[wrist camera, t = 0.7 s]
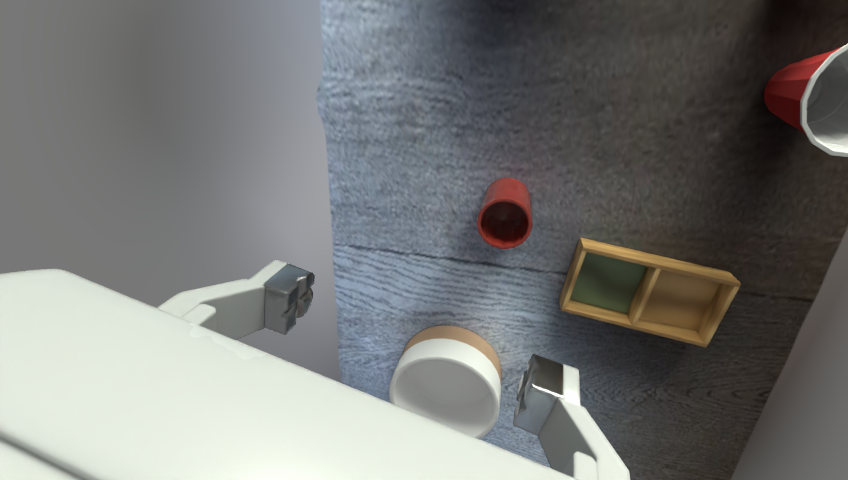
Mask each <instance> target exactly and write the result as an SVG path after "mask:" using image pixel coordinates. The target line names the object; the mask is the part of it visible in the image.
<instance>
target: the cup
mask: <svg viewBox="0 0 848 480" xmlns="http://www.w3.org/2000/svg"><path fill="white" fill-rule="evenodd" d="M477 226H478V232H479V234H480V235H481V237H482V238H483V240H484V241H485V242H486V243H488V244H489V245H491V246H492V247H496V248H500V249H509V248H515V247H516V246H518V245H520V244H522V243H523V242H524V241H525V240H526V239H527V238H528V236H529V235H530V232H531V229H532V212H531V200H530V194H529V191H528V189H527V188H526V186H525V185H524V184H523V183H521V182H520V181H518V180H516V179H512V178H502V179H499V180H497V181H495V182H493V183H492V184H491V185H490V186H489V187H488V188H487V190H486V192H485V195H484V198H483V202H482V205H481V208H480V212H479V216H478V220H477Z"/></svg>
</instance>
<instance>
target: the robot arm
mask: <svg viewBox="0 0 848 480" xmlns="http://www.w3.org/2000/svg"><path fill="white" fill-rule="evenodd" d="M314 278H315V276H314V274H313V273H311V272H309V271H306V270H303V269H301V268H298V267H296V266H293V265H291V264H288V263H285V262H283V261H280V260H274V261H272V262H271V263H270V264H269V265H267V266H266V267H265V268H263V269H262V270H261V271H260V272H258V273H257V274H256V275H254V276H253V277H252V278H251V279H249V280H246V279H242V280H237V281H232V282H228V283H223V284H218V285H213V286H209V287H204V288H199V289H194V290H189V291H185V292H180V293H178V294H177V295H175V296H174V297H172V298H171V299H169V300H168V301H166V302H165V303H163V304H162V305H160V306H159V307H157V308H155V307H153V306H150V305H148V304H145V303H143V302H140V301H137V300H135V299H133V298H130V297H128V296H126V295H123V294H120V293H118V292H116V291H113V290H111V289H108V288H106V287H103V286H101V285H98V284H96V283H94V282H91V281H89V280H86V279H84V278H82V277H79V276H77V275H75V274H72V273H70V272H67V271H64V270H60V269H43V270H30V271H22V272H13V273H5V274H0V480H630V475H629V470H628V469H627V467H626V466H625V464H624V463H623V462H622V460H621V459H620V457H619V456H618V454H617V453H616V452H615V450H614V449H613V447H612V446H611V444H610V443H609V442H608V440H607V439H606V437H605V436H604V434H603V433H602V432H601V430H600V429H599V427H598V426H597V424H596V423H595V421H594V420H593V419H592V417H591V416H590V414H589V413H588V411H587V410H586V409H585V407H582V406H580V385H579V371H578V369H576V368H573V367H570V366H567V365H564V364H560V363H557V362H555V361H552V360H549V359H546V358H543V357H541V356H538V355H535V354H533V355H532V356H531V358H530V360H529V362H528V370H527V371H525V372H524V373H523V376H522V378H521V381H520V384H519V387H518V392H517V398H516V399H517V401H518V403H517V406H516V408H515V413H514V421H513V425H514V426H516V427H519V428H521V429H523V430H526V431H528V432H530V433H533V434H535V435H537V436H538V439H539V441H540V443H541V445H542V448H543V450H544V452H545V455H546V457H547V459H548V462H549V464H550V466H551V468H552V469H551V468H549V467H546V466H544V465H541V464H539V463H536V462H534V461H532V460H529V459H527V458H524V457H522V456H519V455H517V454H514V453H512V452H509V451H507V450H504V449H502V448H499V447H497V446H494V445H492V444H490V443H487V442H485V441H482V440H480V439H477V438H475V437H472V436H470V435H467V434H465V433H463V432H460V431H458V430H455V429H453V428H450V427H448V426H445V425H443V424H440V423H438V422H435V421H433V420H431V419H428V418H426V417H423V416H421V415H418V414H416V413H413V412H411V411H408V410H406V409H404V408H401V407H399V406H396V405H394V404H391V403H389V402H386V401H384V400H381V399H379V398H376V397H374V396H371V395H369V394H366V393H364V392H362V391H359V390H357V389H354V388H352V387H349V386H347V385H344V384H342V383H339V382H337V381H334V380H332V379H330V378H327V377H325V376H322V375H320V374H317V373H315V372H312V371H309V370H307V369H305V368H302V367H300V366H297V365H295V364H293V363H290V362H288V361H285V360H283V359H280V358H278V357H275V356H273V355H270V354H268V353H266V352H263V351H261V350H258V349H256V348H253V347H251V346H248V345H246V344H244V343H241V342H239V341H236V340H237V339H239V338H242V337H244V336H247V335H249V334H251V333H254V332H256V331H259V330H261V329H263V328H264V327H265V328H268V329H270V330H273V331H276V332H279V333H282V334H284V335H286V334H287V333H288V332H289V331H290V330H291V329H292V327H293V326H294V325H295V324H296V318H299V317H302V316H304V314H305V313H306V312H307V311H308V309H309V307H310V305H311V302H312V298H313V292H312V290H311V288H310V287H311V286H312V285H313V284H314Z"/></svg>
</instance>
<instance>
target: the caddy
mask: <svg viewBox="0 0 848 480" xmlns="http://www.w3.org/2000/svg"><path fill="white" fill-rule="evenodd" d="M740 285H741V283H740V282H739V281H738V280H737V279H736V278H735V277H734V276H733V275H732V274H731V273H730V272H728V271H723V270H719V269H715V268H710V267H706V266H702V265H697V264H693V263H689V262H684V261H680V260H676V259H671V258H667V257H663V256H658V255H654V254H650V253H645V252H641V251H637V250H632V249H628V248H624V247H619V246H615V245H611V244H607V243H602V242H598V241H594V240H589V239H585V238H580V240H579V242H578V245H577V248H576V251H575V254H574V257H573V260H572V262H571V265H570V268H569V271H568V274H567V277H566V280H565V282H564V285H563V288H562V291H561V294H560V297H559V302H560V308H561V311H564V312H568V313H572V314H576V315H580V316H584V317H588V318H592V319H595V320H599V321H603V322H607V323H611V324H615V325H619V326H623V327H627V328H631V329H635V330H639V331H643V332H647V333H651V334H655V335H658V336H662V337H666V338H670V339H674V340H678V341H682V342H686V343H690V344H694V345H698V346H702V347H707V345H708V344H709V342H710V340H711V338H712V336H713V335H714V333H715V331H716V329H717V327H718V325H719V324H720V322H721V320H722V318H723V316H724V314H725V313H726V311H727V309H728V307H729V305H730V303H731V302H732V300H733V298H734V296H735V294H736V293H737V291H738V289H739V287H740Z"/></svg>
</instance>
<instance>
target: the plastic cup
mask: <svg viewBox="0 0 848 480" xmlns="http://www.w3.org/2000/svg"><path fill="white" fill-rule="evenodd" d="M764 102H765V104H766V106H767V107H768V109H769V111H770V112H771V113H773V114H775V115H776V116H778V117H779V118H780V119H782V120H783V121H785V122H787V123H788V124H790V125H792V126H793V127H795V128H797V129H799V130H800V131H801V132H803V133H804V134H805V135H806V136H807V137H808V139H809V141H810V142H811V143H812V144H814V145H815V146H817V147H819V148H820V149H822V150H823V151H825V152H827V153H828V154H830V155H836V156H845V157H848V44H847V45H845V46H843V47H842V48H838V49H835V50H834V51H831V52H828V53H824V54H821V55H817V56H814V57H810V58H807V59H803V60H802V61H800V62H796V63H792V64H789V65H788V66H786V67H784V68H783V69H781V70H780V71H778V72H776V73H775V74H774V76H773V77H772V78H771V79H770V80H769V81H768V83H767V86H766V88H765V91H764Z"/></svg>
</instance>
